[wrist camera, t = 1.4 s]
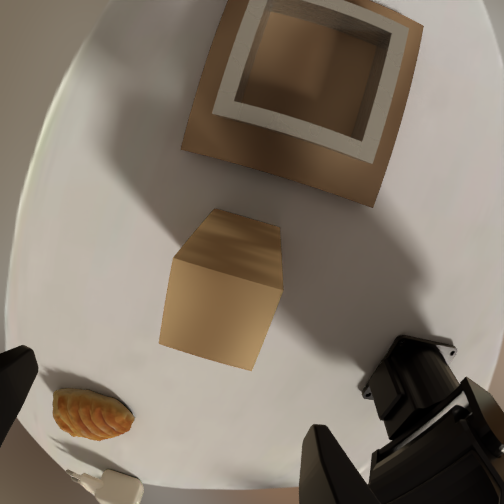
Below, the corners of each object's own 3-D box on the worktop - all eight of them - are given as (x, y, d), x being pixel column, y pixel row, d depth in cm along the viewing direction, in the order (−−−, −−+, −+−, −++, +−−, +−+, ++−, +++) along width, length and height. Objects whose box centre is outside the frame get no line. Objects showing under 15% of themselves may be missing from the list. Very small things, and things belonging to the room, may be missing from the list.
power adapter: (81, 465, 33) (68, 492, 28) (72, 451, 31) (57, 479, 26) (146, 489, 33) (136, 519, 27) (142, 477, 31) (130, 509, 26)
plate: (415, 31, 13) (423, 25, 12) (366, 203, 17) (372, 208, 16) (244, -25, 13) (242, -34, 12) (186, 148, 17) (180, 149, 16)
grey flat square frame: (392, 41, 13) (409, 28, 10) (358, 160, 15) (372, 164, 13) (260, -2, 12) (258, -23, 10) (221, 117, 15) (211, 113, 13)
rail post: (279, 227, 18) (283, 290, 11) (260, 285, 20) (251, 371, 12) (214, 208, 18) (173, 258, 11) (199, 267, 19) (158, 343, 12)
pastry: (115, 382, 24) (99, 410, 21) (149, 427, 27) (139, 455, 23) (54, 384, 26) (38, 407, 22) (87, 425, 28) (75, 447, 25)
